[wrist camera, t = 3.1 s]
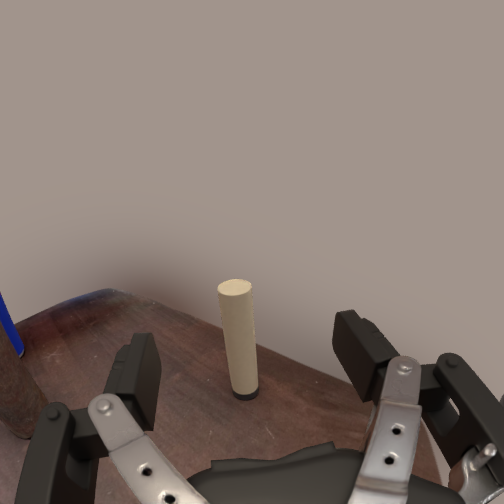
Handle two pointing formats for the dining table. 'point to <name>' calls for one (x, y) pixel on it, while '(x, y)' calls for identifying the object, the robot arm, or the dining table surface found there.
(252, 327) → the beige cylinder
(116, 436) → the robot arm
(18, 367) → the candle
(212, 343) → the dining table surface
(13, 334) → the beverage can
